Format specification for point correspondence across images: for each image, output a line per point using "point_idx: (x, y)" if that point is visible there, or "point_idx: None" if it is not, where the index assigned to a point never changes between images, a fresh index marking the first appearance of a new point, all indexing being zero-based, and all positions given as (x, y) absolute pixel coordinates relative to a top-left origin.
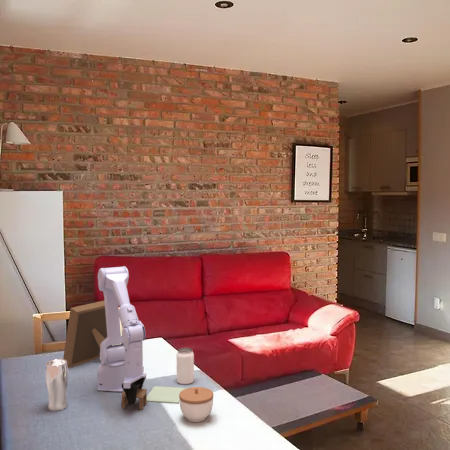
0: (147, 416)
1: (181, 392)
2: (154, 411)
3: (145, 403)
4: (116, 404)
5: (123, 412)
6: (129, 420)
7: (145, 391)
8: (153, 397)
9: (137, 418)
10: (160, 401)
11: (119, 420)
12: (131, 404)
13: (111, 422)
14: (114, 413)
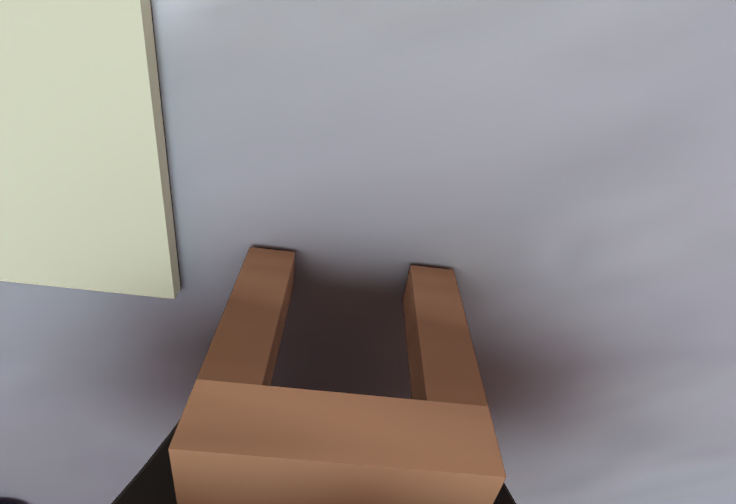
0: (685, 167)
1: None
2: (527, 81)
3: (290, 266)
4: None
5: None
6: (719, 352)
7: (264, 432)
8: (29, 184)
9: (699, 283)
10: (144, 25)
11: (677, 428)
12: None
13: (695, 471)
14: None
